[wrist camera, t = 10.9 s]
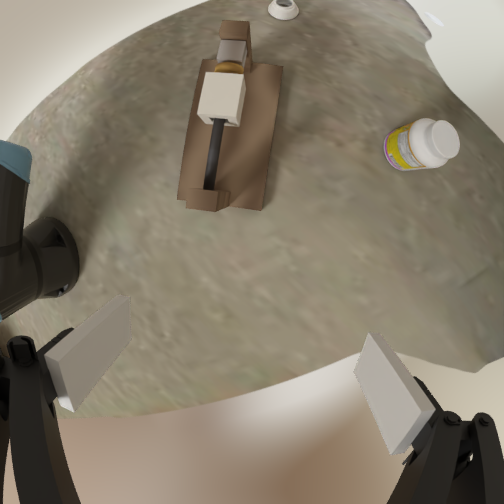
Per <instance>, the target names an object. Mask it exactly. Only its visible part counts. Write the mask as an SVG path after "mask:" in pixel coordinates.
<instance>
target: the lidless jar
mask: <svg viewBox="0 0 504 504" xmlns="http://www.w3.org/2000/svg"><path fill="white" fill-rule="evenodd" d="M280 4H285V5H288V6H289V7H282V6H279V5H280ZM268 11H269V13H270V14H271V15H272V16H273V17H275V18H277V19H281V20H289V19H293V18H295V17H296V16H297V15H298V13H299V9H298V7H297V5H296V4H295V3H294V1H293V0H274V1H273V2H271V3H270V5H269V6H268Z"/></svg>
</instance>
